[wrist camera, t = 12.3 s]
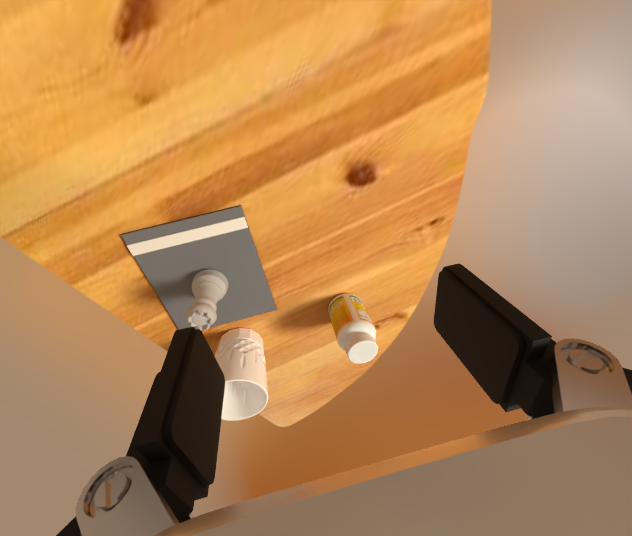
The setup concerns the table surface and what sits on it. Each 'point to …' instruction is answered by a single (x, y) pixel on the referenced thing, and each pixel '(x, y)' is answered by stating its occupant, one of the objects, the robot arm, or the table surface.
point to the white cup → (242, 373)
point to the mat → (203, 264)
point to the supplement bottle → (353, 328)
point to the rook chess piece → (206, 298)
